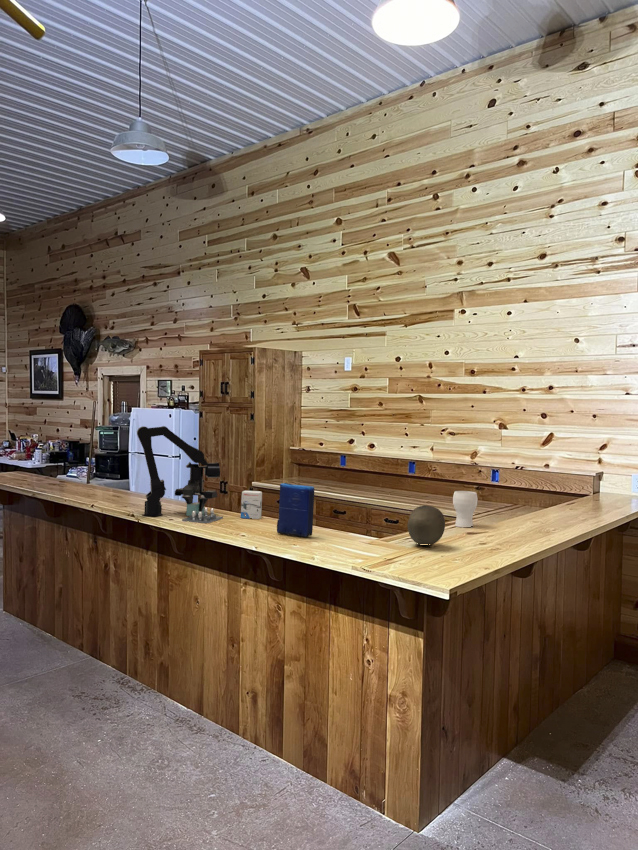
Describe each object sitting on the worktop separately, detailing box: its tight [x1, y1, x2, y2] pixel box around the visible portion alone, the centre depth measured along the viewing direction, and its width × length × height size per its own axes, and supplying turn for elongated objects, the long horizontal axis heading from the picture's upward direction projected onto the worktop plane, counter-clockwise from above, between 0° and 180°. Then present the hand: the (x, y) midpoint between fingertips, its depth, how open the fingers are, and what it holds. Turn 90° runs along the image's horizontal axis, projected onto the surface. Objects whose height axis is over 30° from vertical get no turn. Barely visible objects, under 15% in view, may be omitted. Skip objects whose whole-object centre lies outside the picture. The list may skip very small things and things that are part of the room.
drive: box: [185, 501, 205, 517], centre depth 287 cm, size 4×8×5 cm, turn 162°
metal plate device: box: [181, 507, 224, 524], centre depth 276 cm, size 12×14×4 cm
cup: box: [452, 490, 479, 528], centre depth 282 cm, size 11×11×15 cm
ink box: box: [240, 490, 263, 520], centre depth 284 cm, size 9×5×12 cm, turn 84°
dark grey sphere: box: [407, 504, 446, 546], centre depth 236 cm, size 14×14×15 cm
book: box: [276, 482, 315, 538], centre depth 248 cm, size 14×5×20 cm, turn 62°
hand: (195, 512), depth 288 cm, fingers closed on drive, 4 cm apart
